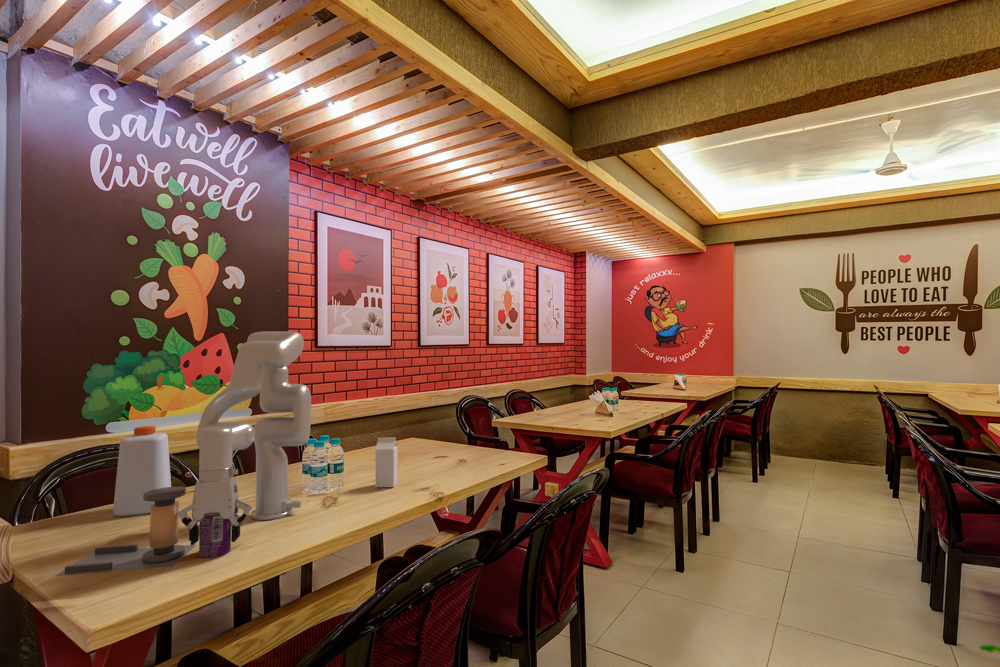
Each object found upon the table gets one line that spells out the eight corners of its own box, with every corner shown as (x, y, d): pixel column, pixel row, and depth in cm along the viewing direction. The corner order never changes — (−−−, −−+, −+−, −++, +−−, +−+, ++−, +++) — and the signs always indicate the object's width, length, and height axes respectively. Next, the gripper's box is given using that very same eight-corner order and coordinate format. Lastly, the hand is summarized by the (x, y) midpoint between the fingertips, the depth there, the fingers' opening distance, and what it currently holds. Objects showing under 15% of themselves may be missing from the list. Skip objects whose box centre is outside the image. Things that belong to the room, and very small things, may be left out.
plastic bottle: (109, 519, 160) (110, 431, 161) (123, 506, 173) (124, 425, 174) (164, 512, 166) (166, 428, 167) (174, 500, 179) (175, 422, 181)
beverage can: (236, 552, 132) (236, 506, 132) (218, 563, 125) (219, 515, 125) (211, 551, 132) (212, 506, 133) (192, 562, 125) (193, 514, 126)
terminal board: (197, 549, 134) (197, 538, 134) (172, 571, 120) (172, 560, 120) (92, 556, 130) (92, 546, 130) (54, 580, 116) (55, 569, 116)
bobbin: (191, 548, 132) (191, 485, 132) (175, 562, 123) (176, 495, 123) (153, 551, 130) (154, 487, 131) (134, 565, 121) (135, 497, 122)
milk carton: (393, 488, 193) (393, 439, 193) (375, 488, 193) (375, 439, 194) (397, 483, 200) (397, 435, 201) (380, 483, 200) (380, 436, 201)
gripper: (255, 469, 134) (255, 534, 134) (185, 473, 131) (184, 539, 131) (246, 476, 127) (246, 544, 126) (172, 480, 124) (171, 549, 123)
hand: (214, 541), depth 128 cm, fingers open, 9 cm apart
